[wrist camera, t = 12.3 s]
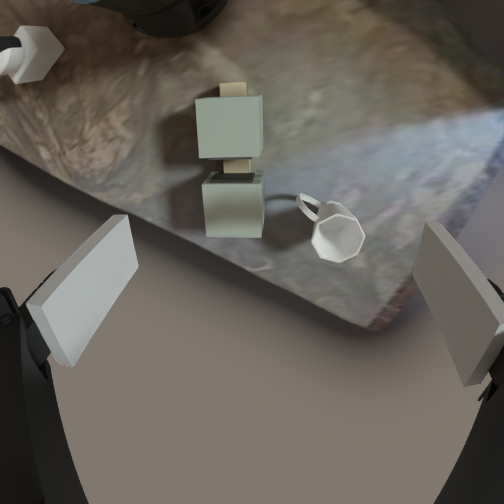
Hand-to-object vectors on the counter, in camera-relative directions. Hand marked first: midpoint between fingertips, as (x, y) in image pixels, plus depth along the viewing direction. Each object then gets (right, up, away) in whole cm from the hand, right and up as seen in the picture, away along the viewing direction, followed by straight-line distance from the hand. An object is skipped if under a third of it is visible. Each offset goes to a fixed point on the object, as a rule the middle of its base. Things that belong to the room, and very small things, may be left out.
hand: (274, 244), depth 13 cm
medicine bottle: (-35, +33, +22) cm, 53 cm away
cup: (+9, +6, +32) cm, 34 cm away
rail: (-3, +14, +29) cm, 32 cm away
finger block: (-3, +16, +25) cm, 30 cm away
